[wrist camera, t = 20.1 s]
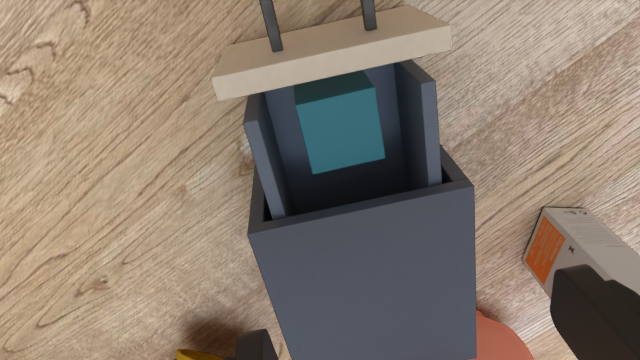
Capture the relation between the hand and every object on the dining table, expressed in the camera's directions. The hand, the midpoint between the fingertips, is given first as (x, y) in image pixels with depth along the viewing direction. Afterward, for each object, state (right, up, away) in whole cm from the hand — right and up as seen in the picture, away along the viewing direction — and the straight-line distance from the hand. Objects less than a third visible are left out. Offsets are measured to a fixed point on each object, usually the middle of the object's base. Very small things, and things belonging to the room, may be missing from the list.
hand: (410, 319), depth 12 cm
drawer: (-2, +10, +16) cm, 19 cm away
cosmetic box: (+18, -1, +26) cm, 32 cm away
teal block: (-2, +9, +16) cm, 18 cm away
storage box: (0, 0, +23) cm, 23 cm away
